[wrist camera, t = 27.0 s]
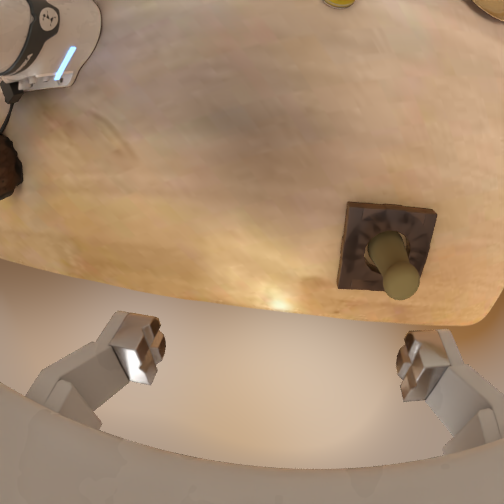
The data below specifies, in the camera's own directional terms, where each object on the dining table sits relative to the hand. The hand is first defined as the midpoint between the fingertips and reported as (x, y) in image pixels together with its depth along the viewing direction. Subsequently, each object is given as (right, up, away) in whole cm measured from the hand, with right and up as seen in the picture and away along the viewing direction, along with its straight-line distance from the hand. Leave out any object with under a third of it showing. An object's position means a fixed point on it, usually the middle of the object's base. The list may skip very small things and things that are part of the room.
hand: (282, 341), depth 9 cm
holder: (+20, +4, +35) cm, 40 cm away
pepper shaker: (+20, +4, +35) cm, 40 cm away
